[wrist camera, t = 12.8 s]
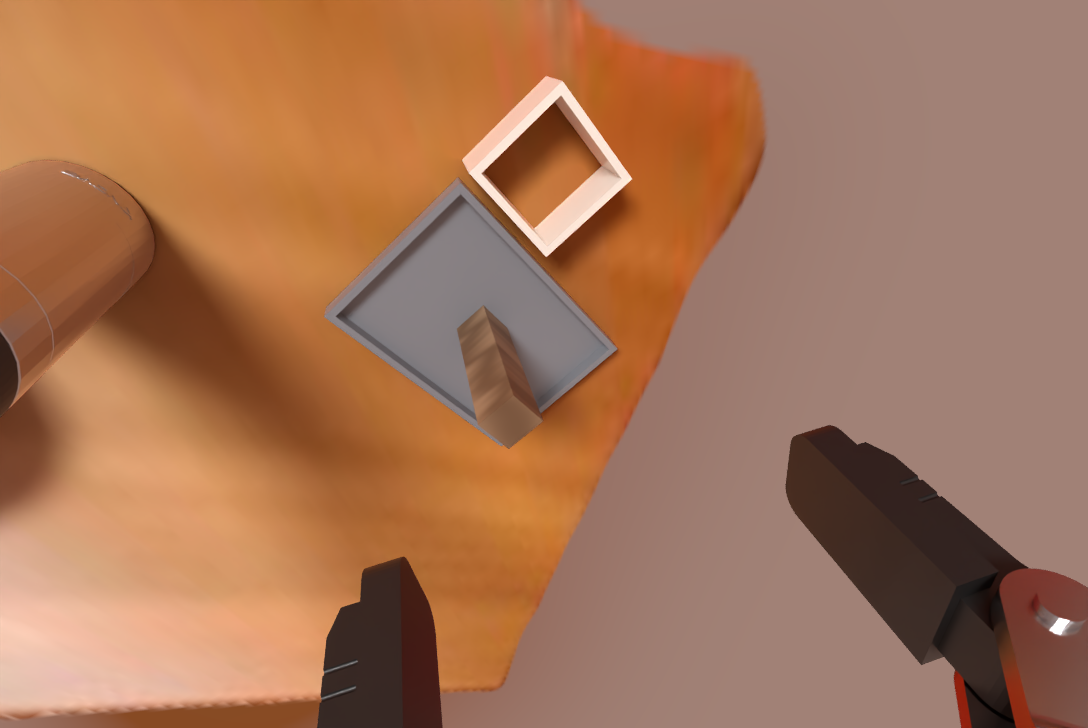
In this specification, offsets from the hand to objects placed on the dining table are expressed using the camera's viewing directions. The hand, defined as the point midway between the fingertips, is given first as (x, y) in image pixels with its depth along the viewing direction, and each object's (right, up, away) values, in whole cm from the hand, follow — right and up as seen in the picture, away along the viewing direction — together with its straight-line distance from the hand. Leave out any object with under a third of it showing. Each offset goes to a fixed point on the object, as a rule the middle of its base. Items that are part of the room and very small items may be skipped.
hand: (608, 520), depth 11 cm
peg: (-7, +6, +37) cm, 38 cm away
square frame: (-2, +19, +31) cm, 37 cm away
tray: (-7, +7, +38) cm, 39 cm away
